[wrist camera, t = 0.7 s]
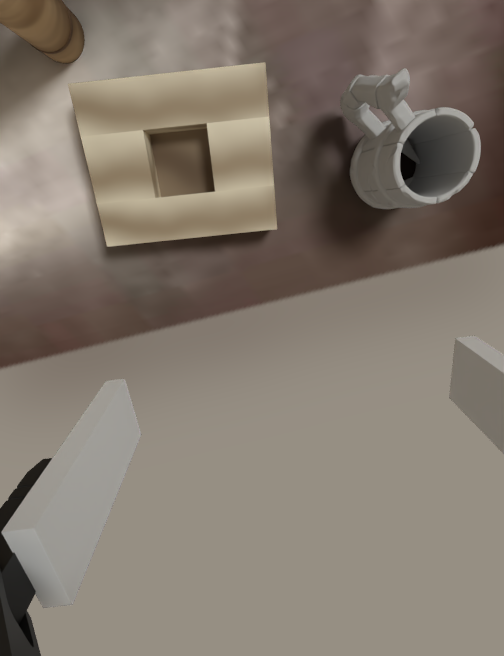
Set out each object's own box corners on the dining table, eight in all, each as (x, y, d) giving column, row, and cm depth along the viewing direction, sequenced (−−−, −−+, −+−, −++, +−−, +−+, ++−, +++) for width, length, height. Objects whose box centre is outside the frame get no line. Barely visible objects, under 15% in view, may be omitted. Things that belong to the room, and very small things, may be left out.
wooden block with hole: (85, 95, 32) (67, 83, 29) (262, 75, 32) (265, 62, 28) (119, 242, 36) (107, 246, 33) (273, 225, 36) (277, 229, 33)
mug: (378, 225, 37) (438, 238, 25) (302, 132, 33) (332, 101, 22) (439, 168, 35) (534, 156, 24) (366, 64, 32) (434, -7, 20)
